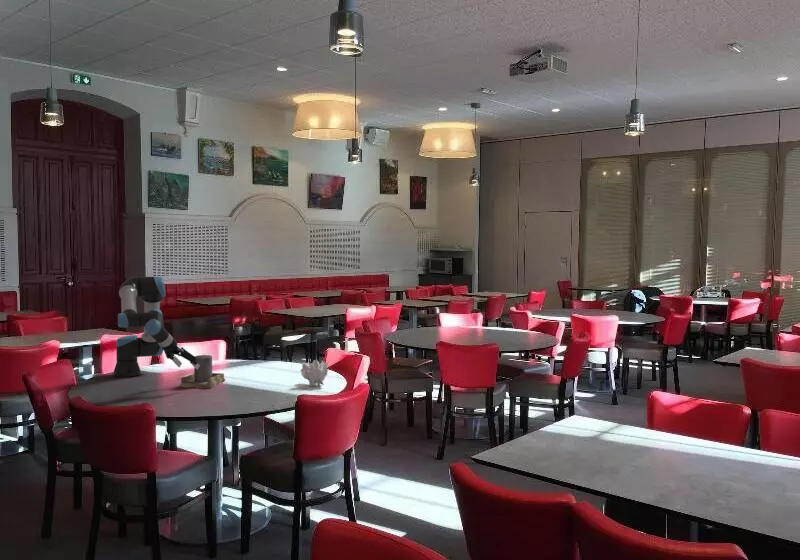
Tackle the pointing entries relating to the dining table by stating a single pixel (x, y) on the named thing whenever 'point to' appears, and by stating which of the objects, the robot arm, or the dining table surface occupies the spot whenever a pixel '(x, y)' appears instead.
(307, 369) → the grey spiky coral
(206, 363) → the pillar candle
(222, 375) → the wooden tray
